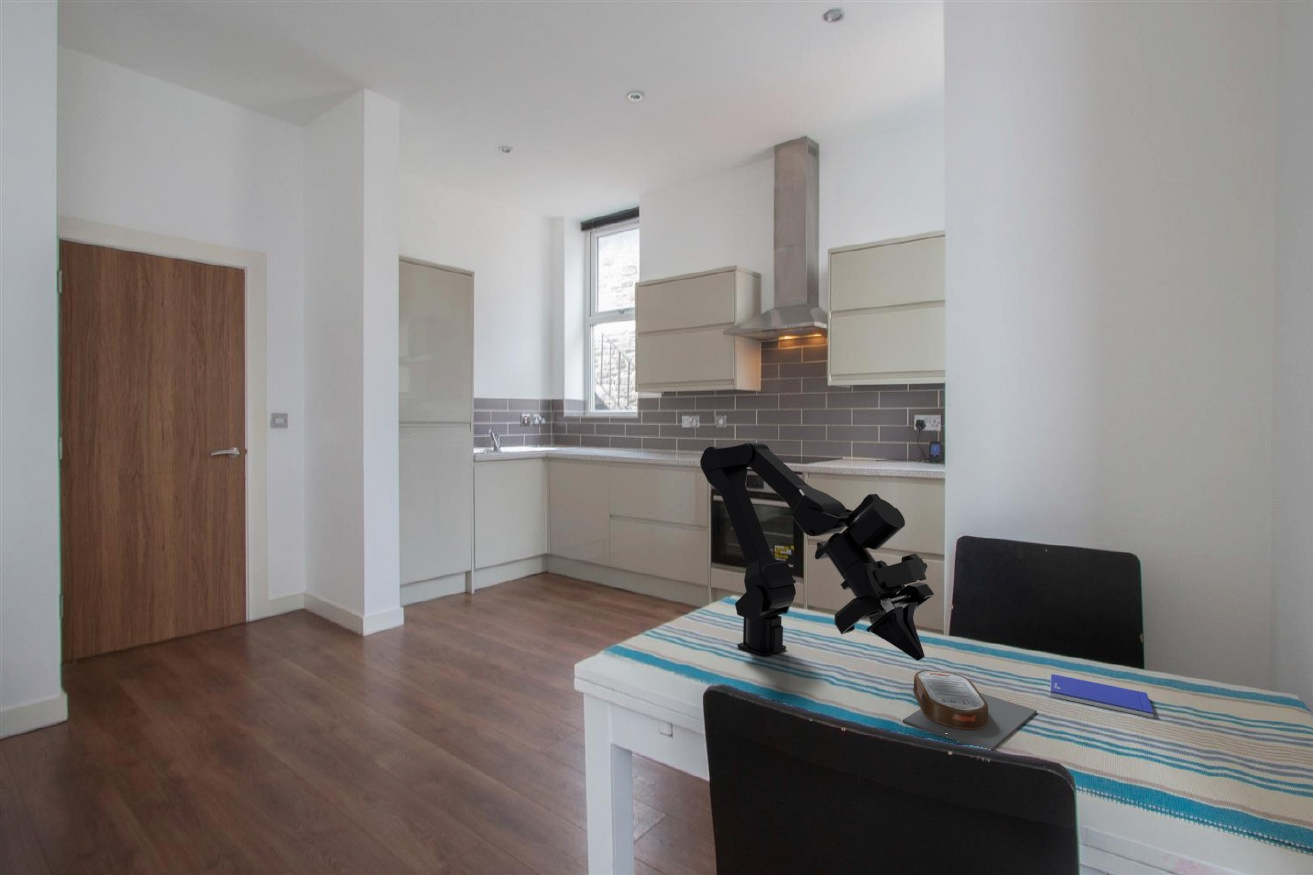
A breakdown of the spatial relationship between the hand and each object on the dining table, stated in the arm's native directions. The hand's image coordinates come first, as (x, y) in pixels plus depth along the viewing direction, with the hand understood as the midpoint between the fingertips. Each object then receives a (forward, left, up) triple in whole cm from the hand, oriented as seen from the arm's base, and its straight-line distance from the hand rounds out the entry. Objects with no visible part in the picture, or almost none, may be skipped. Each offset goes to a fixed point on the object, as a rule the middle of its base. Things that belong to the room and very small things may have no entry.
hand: (921, 658), depth 90 cm
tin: (-1, +1, -5) cm, 6 cm away
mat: (+6, +3, -7) cm, 10 cm away
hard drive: (+16, +26, -8) cm, 31 cm away
